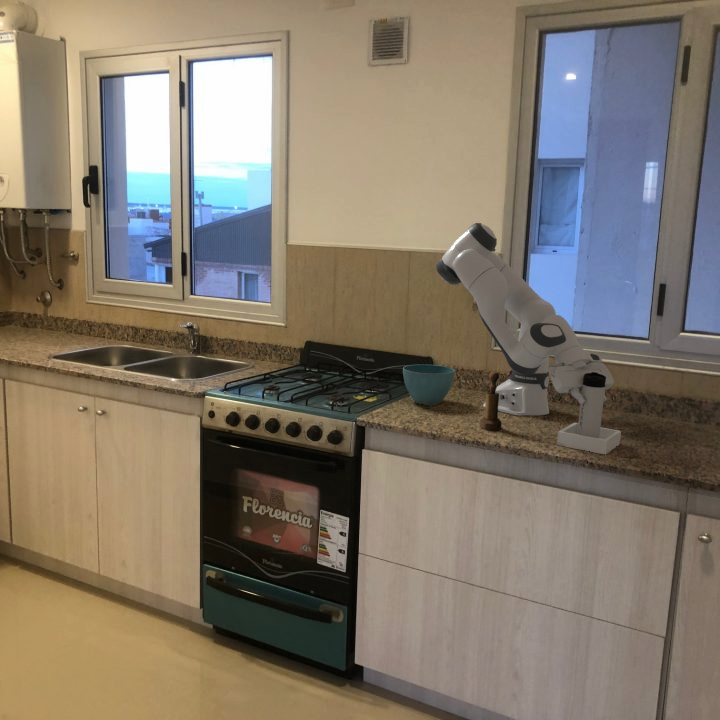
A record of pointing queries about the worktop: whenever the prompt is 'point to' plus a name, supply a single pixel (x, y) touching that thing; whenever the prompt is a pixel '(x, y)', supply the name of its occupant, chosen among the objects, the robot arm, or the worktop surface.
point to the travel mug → (591, 405)
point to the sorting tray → (589, 439)
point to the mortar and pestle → (491, 406)
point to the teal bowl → (428, 382)
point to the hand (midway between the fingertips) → (593, 402)
